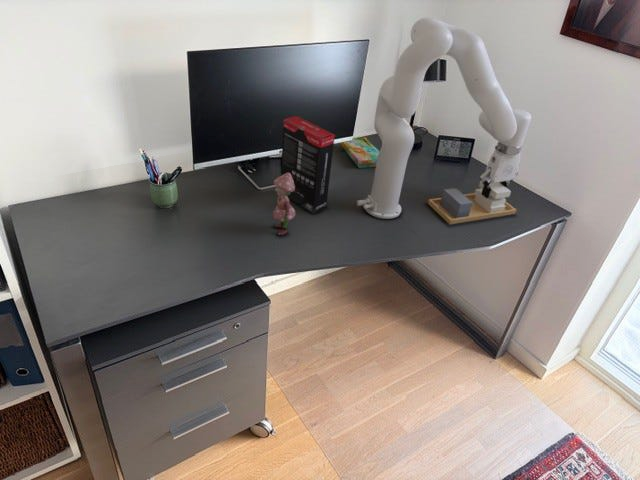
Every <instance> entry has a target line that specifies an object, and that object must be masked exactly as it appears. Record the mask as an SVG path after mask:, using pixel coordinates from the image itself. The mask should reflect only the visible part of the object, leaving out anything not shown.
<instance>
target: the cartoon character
mask: <svg viewBox="0 0 640 480" xmlns="http://www.w3.org/2000/svg"><path fill="white" fill-rule="evenodd" d="M273 185H274V186H275V187H276V188H275V189H274V190H275V191H276V192H275V193H276V195H277V201H276V204H277V205H276V207H275V208H274V210H273V212H272V218H273V219H274V220H276V221H277V222H280V223H277V224H275V225H274V227H275V228H276V229H277V228H278V229H282V230H281V231H280V232H278V236H283V235H284V236H285V235H287V234H288V222H289V221H292V220H293V219H294V218H295V216H296V210H295V209H294V206H292V205H291V203H290V199H289V198H288V197H287V195H289V194H290V193H291V192H293V191H294V190H295V185H294V181H293V178H292V176H291V174H290V173H286V174H283V175H282V176H281V175H279V176H278V177H277V178H275V179H274V181H273Z"/></svg>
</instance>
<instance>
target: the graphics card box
mask: <svg viewBox="0 0 640 480" xmlns="http://www.w3.org/2000/svg"><path fill="white" fill-rule="evenodd" d="M282 126H283V127H282V146H281V147H282V148H281V168H280V176H282V175H283V174H286V173H290V174H291V176H292V178H293V181H294V185H295V190H294V191H293V192H291V193H290V194H289V195H287V197H288V198H289V200H291V201H293V203H295V204H297V205H299V206H301V207H302V208H303V209H305V210H307V211H309V212H310V213H312V214H316V213H318V212H320V211H322V210H325V209H326V208H327V205H328V195H329V187H330V180H331V171H332V164H333V163H332V162H333V153H334V145H335V138H336V134H334V133H333V132H330V131H329V130H326V129H325V128H322V127H321V126H319V125H316V124H314V123H312V122H310V121H309V120H306V119H304V118H301V117H300V116H295V115H294V116H291V117H287V118H284V119H283V125H282Z"/></svg>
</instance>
